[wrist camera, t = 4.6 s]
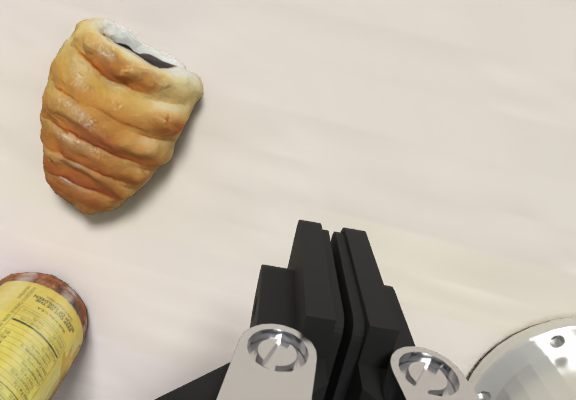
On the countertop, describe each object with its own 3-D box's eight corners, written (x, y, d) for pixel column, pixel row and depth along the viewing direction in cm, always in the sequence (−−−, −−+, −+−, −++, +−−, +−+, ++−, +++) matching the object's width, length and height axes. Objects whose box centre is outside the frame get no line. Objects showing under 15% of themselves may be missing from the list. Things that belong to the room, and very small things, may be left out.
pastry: (143, 223, 27) (119, 255, 23) (27, 167, 26) (-16, 191, 22) (215, 73, 24) (200, 83, 20) (87, 2, 23) (48, 0, 19)
